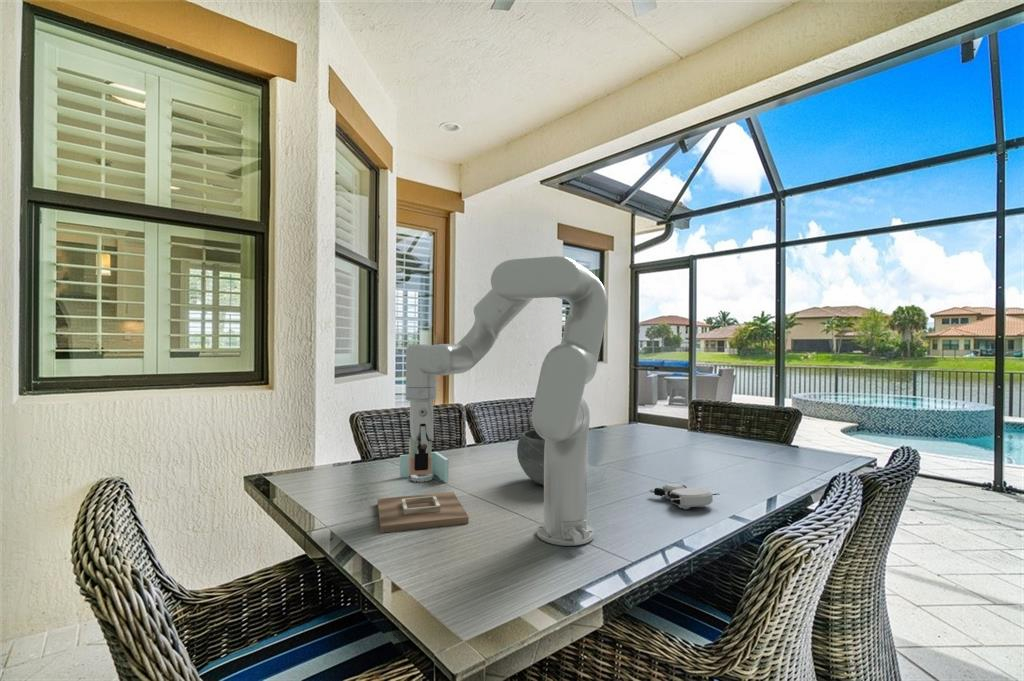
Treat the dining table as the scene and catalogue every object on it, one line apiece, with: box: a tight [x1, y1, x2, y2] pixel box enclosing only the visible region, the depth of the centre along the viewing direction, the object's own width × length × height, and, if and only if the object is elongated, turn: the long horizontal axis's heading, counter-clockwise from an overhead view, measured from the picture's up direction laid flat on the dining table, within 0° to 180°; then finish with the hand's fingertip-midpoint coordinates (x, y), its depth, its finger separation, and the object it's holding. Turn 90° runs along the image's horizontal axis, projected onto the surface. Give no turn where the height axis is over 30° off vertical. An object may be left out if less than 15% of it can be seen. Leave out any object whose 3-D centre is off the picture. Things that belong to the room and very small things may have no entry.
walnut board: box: [377, 491, 469, 534], centre depth 120 cm, size 20×20×3 cm
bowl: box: [516, 429, 545, 486], centre depth 146 cm, size 21×21×15 cm
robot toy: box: [649, 483, 720, 510], centre depth 128 cm, size 12×4×15 cm
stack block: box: [408, 437, 433, 475], centre depth 120 cm, size 5×5×8 cm
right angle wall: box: [399, 451, 450, 484], centre depth 150 cm, size 12×12×8 cm
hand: (419, 466), depth 120 cm, fingers closed on stack block, 5 cm apart
